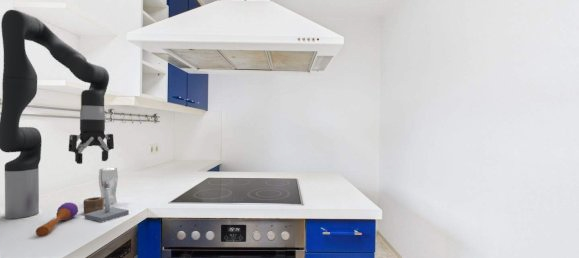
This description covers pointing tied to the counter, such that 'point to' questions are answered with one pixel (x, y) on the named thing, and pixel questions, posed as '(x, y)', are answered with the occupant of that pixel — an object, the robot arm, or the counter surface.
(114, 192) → the beer glass
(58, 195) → the counter surface
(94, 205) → the bead
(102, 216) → the rod stand
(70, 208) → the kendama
